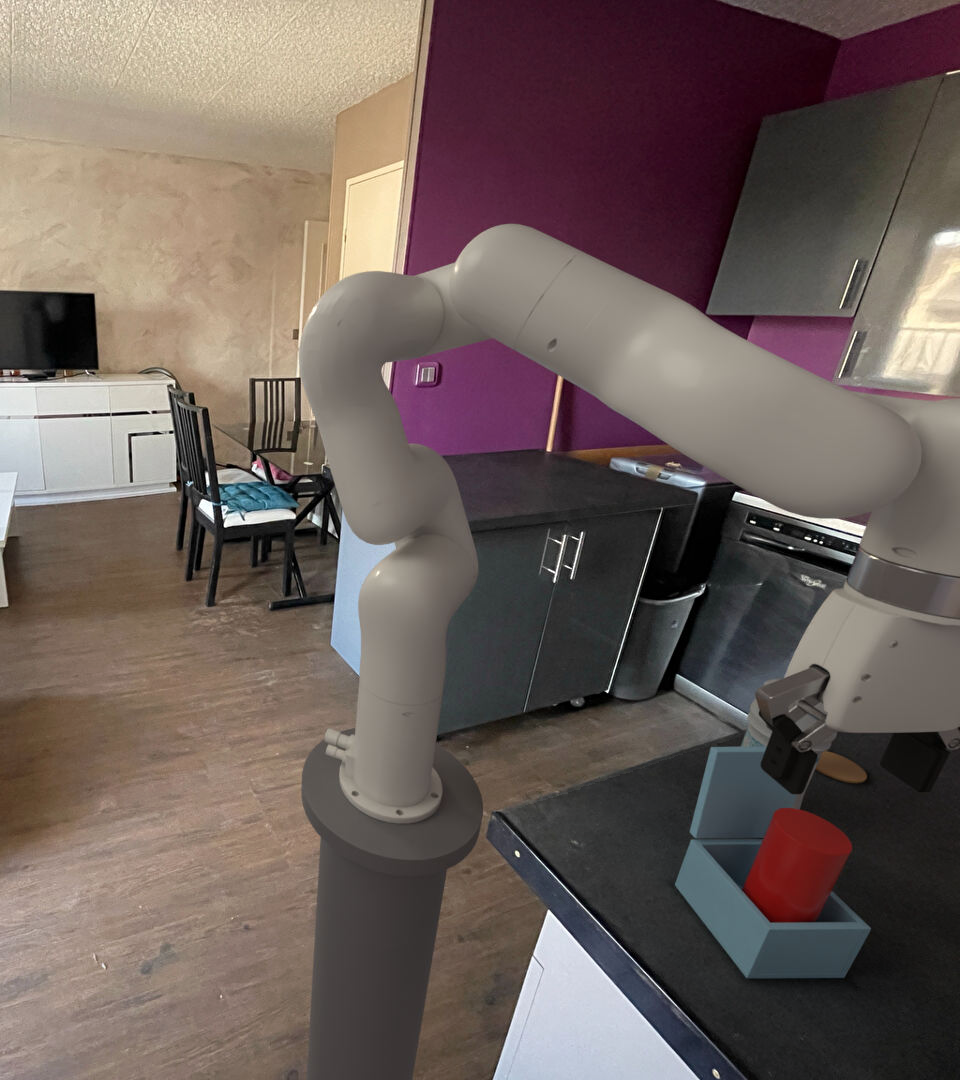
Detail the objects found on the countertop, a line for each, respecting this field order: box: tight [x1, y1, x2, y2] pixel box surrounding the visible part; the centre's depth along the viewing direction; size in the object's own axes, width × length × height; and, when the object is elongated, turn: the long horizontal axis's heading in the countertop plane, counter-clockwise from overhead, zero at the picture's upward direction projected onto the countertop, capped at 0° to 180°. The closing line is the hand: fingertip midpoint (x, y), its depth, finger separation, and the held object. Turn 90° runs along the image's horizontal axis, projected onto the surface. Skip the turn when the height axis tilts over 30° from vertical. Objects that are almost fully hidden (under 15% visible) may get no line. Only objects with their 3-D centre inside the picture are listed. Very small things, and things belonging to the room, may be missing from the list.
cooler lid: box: [689, 746, 796, 839], centre depth 54 cm, size 10×8×1 cm
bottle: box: [740, 667, 838, 810], centre depth 62 cm, size 7×7×20 cm
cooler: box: [674, 838, 872, 979], centre depth 53 cm, size 9×8×6 cm
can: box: [742, 808, 853, 923], centre depth 50 cm, size 5×5×12 cm
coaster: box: [815, 750, 868, 784], centre depth 73 cm, size 6×6×1 cm
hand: (841, 780), depth 46 cm, fingers open, 9 cm apart
